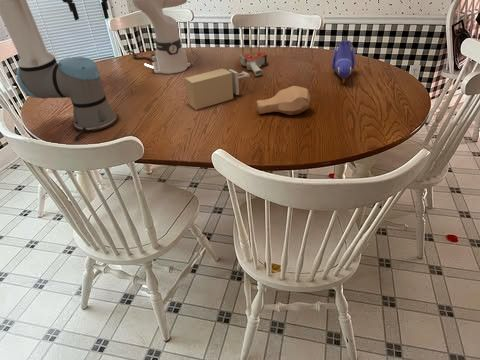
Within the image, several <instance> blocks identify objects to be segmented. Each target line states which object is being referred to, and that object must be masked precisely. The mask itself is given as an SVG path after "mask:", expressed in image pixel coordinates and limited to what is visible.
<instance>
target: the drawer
mask: <svg viewBox="0 0 480 360" xmlns="http://www.w3.org/2000/svg"><path fill="white" fill-rule="evenodd" d="M228 71H229V72H231V73H232V86H233V95H236V96H239V95H240V85H239V84H240V83H239V82H240V81H239V79H243V78H250V76H251V75H250V73H248V72H246V71H244V70H242V71H241V72H240V73H239V72H238V71H236V70H233V69H231V68H230V69H228Z"/></svg>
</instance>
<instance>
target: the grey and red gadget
mask: <svg viewBox="0 0 480 360" xmlns="http://www.w3.org/2000/svg"><path fill="white" fill-rule="evenodd" d="M253 55H256V56H253ZM267 55H268V54H267V53H266V52H265V51H258V52H252V53H245V54H242V53H241V54H240V55H239V63H240V64H242V66H243V67H246V70H247V71H252V73H253V74H254V76H255V77H258V76H261V75H262V74H263V69H262V68H261V67H262V66H265V65H267V62H268V60H267V58H268V56H267Z"/></svg>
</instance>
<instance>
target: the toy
mask: <svg viewBox="0 0 480 360" xmlns="http://www.w3.org/2000/svg"><path fill="white" fill-rule="evenodd" d="M351 42H352V41H351V40H349V39H346V40H345V41H344V40H340V41H339V45H335V48H334V50H333V53H332V58H331V68H332V71H333V70H334V72H335V73H336V74H337V75H338V76H339V78H340V79H341V81H342V84H345V81H346V79H347V78H349V76H351V74H352V72H353V69H354V68H355V67H356V53H355V48H354V46H353V44H350V43H351Z"/></svg>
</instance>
